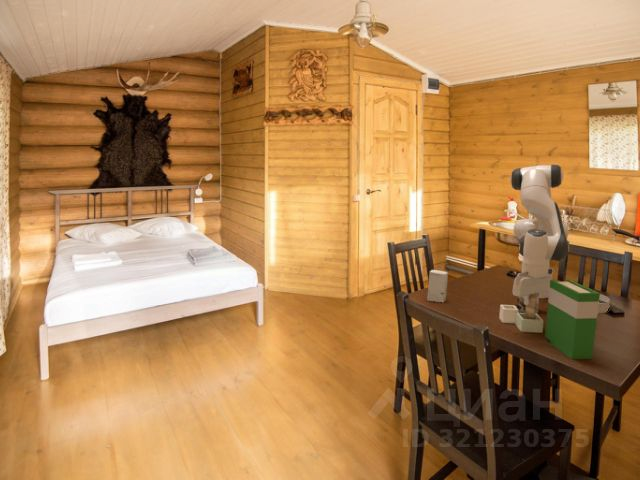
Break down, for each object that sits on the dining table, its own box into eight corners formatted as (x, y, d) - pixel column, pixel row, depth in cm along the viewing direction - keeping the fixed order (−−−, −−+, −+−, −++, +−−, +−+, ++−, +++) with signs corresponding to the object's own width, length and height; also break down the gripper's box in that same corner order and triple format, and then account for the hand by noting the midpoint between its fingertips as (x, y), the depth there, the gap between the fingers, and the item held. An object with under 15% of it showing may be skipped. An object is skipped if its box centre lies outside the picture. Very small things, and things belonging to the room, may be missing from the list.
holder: (515, 326, 186) (516, 312, 185) (535, 327, 185) (536, 313, 184) (520, 333, 178) (522, 319, 177) (542, 334, 177) (543, 320, 176)
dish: (594, 299, 222) (595, 290, 221) (619, 314, 201) (620, 304, 200) (548, 298, 224) (549, 288, 223) (568, 313, 203) (569, 302, 202)
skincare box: (426, 300, 220) (428, 271, 217) (429, 297, 225) (431, 269, 222) (444, 303, 216) (445, 273, 213) (446, 299, 221) (448, 271, 219)
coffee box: (515, 313, 202) (518, 278, 199) (516, 308, 208) (519, 275, 205) (537, 316, 198) (540, 281, 195) (538, 311, 204) (541, 277, 201)
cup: (499, 319, 194) (500, 304, 192) (513, 320, 193) (514, 305, 191) (502, 324, 188) (503, 309, 187) (517, 325, 187) (518, 309, 186)
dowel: (522, 323, 183) (525, 288, 180) (530, 323, 183) (534, 288, 180) (526, 326, 179) (529, 290, 177) (535, 326, 180) (538, 290, 177)
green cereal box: (544, 339, 173) (550, 279, 169) (563, 338, 174) (569, 279, 169) (571, 359, 156) (578, 293, 152) (592, 358, 156) (599, 293, 152)
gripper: (523, 275, 169) (521, 310, 172) (556, 268, 179) (553, 301, 182) (509, 272, 175) (507, 305, 177) (542, 265, 185) (539, 297, 187)
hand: (530, 303), depth 180 cm, fingers closed on dowel, 3 cm apart
